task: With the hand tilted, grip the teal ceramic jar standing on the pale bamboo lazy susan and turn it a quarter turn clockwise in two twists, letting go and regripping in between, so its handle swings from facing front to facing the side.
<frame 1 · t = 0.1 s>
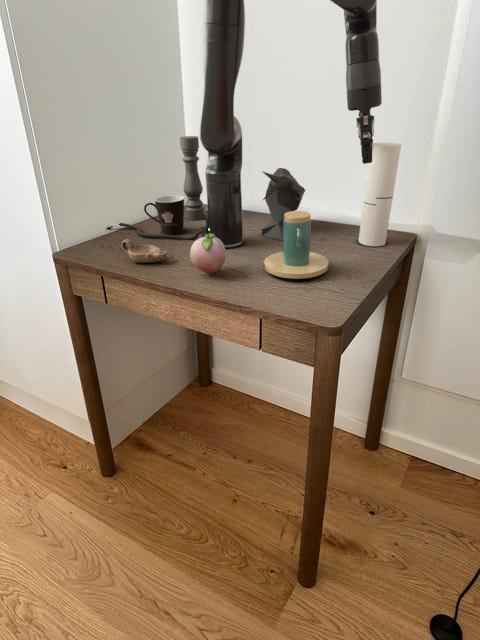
hand: (366, 160, 110), 22 cm above the table, tool pointing down, fingers open, 8 cm apart
coffee mug: (169, 231, 140), on the table
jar: (296, 241, 105), point 7 cm above the table, hinge at 0.0°
narwhal figurine: (281, 230, 137), on the table
oil lamp: (144, 261, 118), on the table
decorative fruit: (209, 274, 108), on the table
candle holder: (195, 218, 152), on the table
turntable base: (295, 270, 109), on the table
cylindrical container: (371, 242, 125), on the table, touching gripper
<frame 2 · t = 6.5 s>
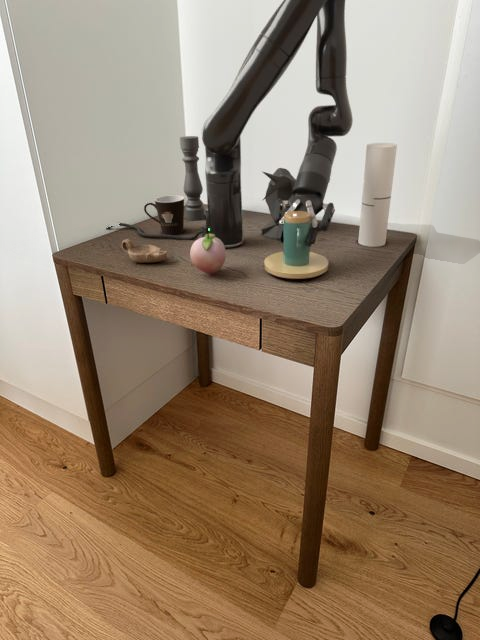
hand: (294, 243, 104), 7 cm above the table, tool tilted 45°, fingers closed on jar, 6 cm apart
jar: (296, 241, 105), point 7 cm above the table, hinge at 0.0°, touching gripper
cylindrical container: (371, 243, 125), on the table
everything else where it was.
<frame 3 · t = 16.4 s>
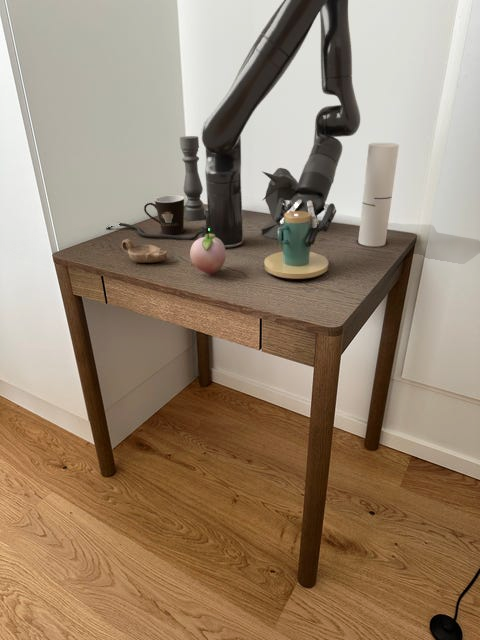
hand: (293, 242, 104), 7 cm above the table, tool tilted 45°, fingers closed on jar, 6 cm apart
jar: (296, 241, 105), point 7 cm above the table, hinge at -48.7°, touching gripper
everything else where it was.
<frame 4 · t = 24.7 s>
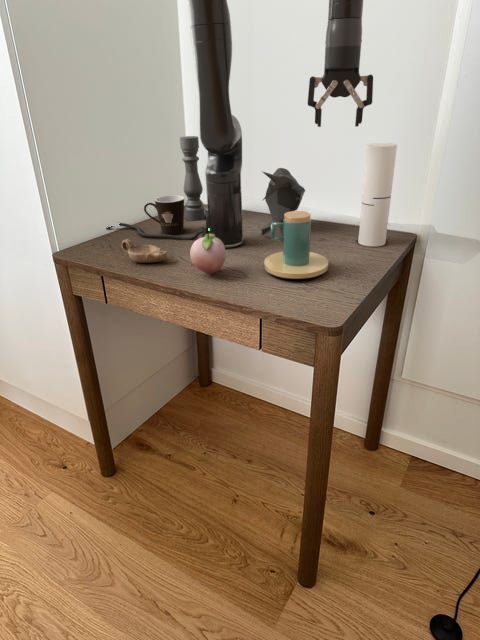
hand: (337, 126, 106), 30 cm above the table, tool pointing down, fingers open, 8 cm apart
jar: (296, 241, 105), point 7 cm above the table, hinge at -92.8°
everything else where it was.
at the end: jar at -93° (first picture: +0°); the gripper is holding nothing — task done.
